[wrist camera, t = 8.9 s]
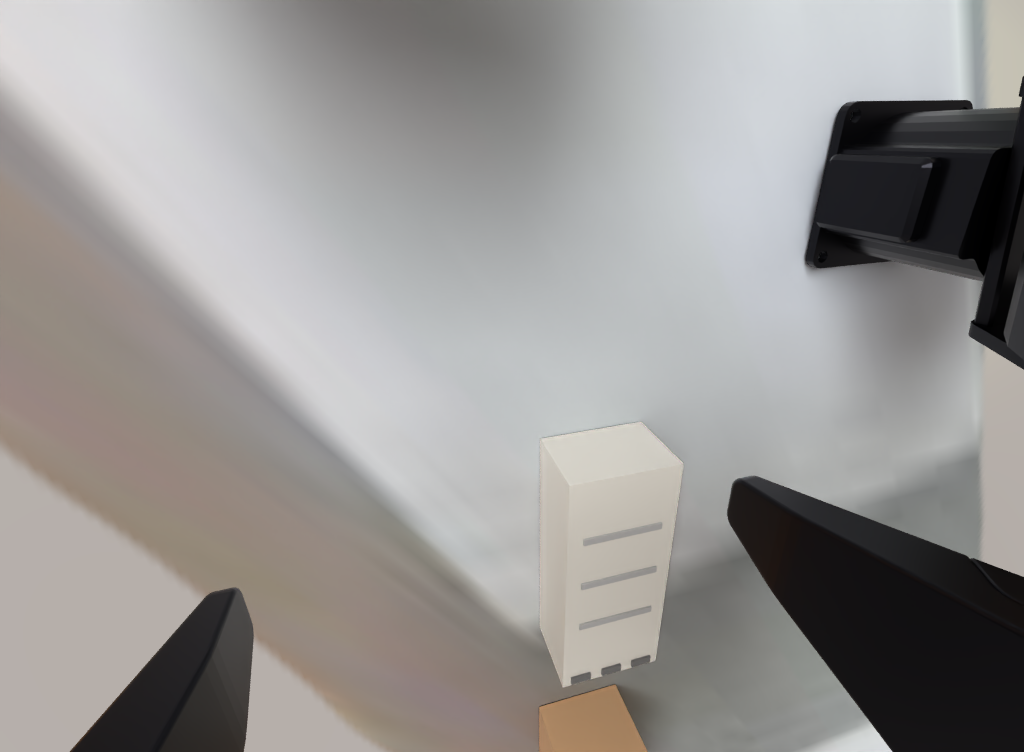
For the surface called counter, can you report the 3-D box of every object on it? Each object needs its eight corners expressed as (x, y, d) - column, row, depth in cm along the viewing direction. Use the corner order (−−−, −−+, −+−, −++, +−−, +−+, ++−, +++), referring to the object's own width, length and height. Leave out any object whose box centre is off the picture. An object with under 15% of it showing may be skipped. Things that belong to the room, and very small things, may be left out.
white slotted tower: (641, 421, 24) (685, 465, 21) (623, 604, 30) (656, 662, 26) (540, 438, 23) (570, 487, 20) (539, 626, 28) (563, 689, 25)
